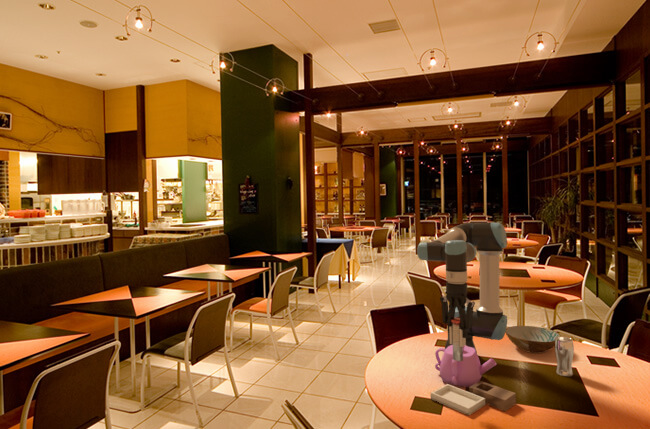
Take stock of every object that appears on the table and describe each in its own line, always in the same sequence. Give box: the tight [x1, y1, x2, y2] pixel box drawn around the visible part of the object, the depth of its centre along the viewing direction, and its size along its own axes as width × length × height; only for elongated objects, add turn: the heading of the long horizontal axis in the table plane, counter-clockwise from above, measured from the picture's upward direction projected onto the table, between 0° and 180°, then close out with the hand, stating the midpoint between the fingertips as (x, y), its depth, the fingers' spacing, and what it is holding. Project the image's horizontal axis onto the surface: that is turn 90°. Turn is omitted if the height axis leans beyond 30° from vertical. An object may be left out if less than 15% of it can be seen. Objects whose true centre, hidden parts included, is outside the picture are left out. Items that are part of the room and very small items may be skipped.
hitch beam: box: [468, 380, 517, 412], centre depth 150 cm, size 14×8×4 cm, turn 39°
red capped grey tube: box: [451, 318, 463, 361], centre depth 149 cm, size 4×4×15 cm
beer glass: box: [554, 335, 575, 377], centre depth 171 cm, size 7×7×15 cm
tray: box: [430, 383, 486, 416], centre depth 150 cm, size 16×11×2 cm
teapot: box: [434, 345, 497, 388], centre depth 170 cm, size 19×21×14 cm
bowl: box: [505, 325, 562, 354], centre depth 201 cm, size 25×25×8 cm
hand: (457, 344), depth 149 cm, fingers closed on red capped grey tube, 3 cm apart
